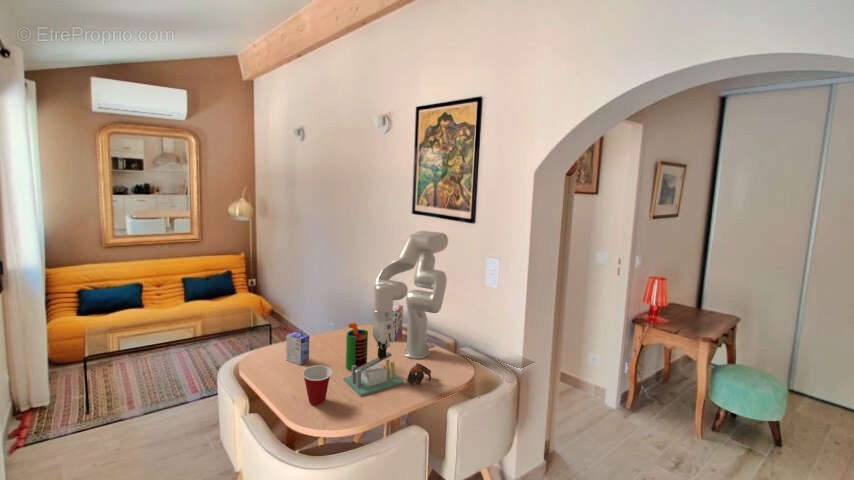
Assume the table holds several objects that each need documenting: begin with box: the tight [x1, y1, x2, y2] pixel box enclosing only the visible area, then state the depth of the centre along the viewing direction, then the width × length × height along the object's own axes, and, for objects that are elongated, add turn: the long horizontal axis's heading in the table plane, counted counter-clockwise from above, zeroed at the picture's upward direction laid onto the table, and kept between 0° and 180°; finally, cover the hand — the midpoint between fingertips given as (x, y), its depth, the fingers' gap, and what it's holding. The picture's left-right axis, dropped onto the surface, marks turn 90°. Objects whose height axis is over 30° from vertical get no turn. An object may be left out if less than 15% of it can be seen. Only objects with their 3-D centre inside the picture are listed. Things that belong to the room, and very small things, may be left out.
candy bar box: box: [392, 304, 404, 342], centre depth 226 cm, size 11×5×16 cm, turn 165°
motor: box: [345, 321, 369, 372], centre depth 190 cm, size 10×9×20 cm
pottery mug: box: [406, 362, 432, 386], centre depth 178 cm, size 12×10×8 cm
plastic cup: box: [301, 365, 333, 406], centre depth 159 cm, size 11×11×12 cm
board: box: [343, 357, 405, 397], centre depth 177 cm, size 20×16×8 cm
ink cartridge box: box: [285, 328, 310, 366], centre depth 194 cm, size 10×6×14 cm, turn 59°
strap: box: [354, 351, 392, 373], centre depth 176 cm, size 16×3×1 cm, turn 124°
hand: (381, 357), depth 177 cm, fingers closed
